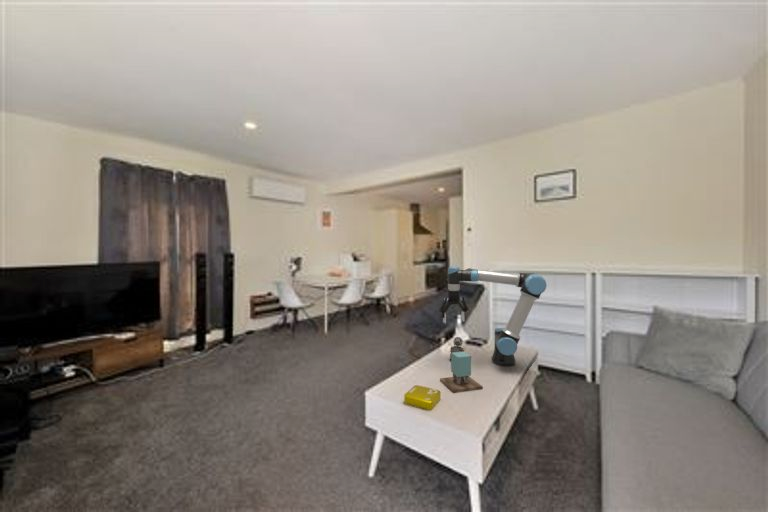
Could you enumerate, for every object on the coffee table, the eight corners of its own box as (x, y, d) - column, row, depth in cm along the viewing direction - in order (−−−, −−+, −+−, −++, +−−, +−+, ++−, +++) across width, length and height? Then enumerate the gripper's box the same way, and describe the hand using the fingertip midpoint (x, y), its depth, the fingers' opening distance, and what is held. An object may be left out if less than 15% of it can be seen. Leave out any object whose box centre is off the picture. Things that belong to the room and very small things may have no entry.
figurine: (466, 358, 223) (466, 337, 222) (461, 363, 213) (461, 341, 212) (454, 356, 227) (454, 335, 227) (448, 361, 217) (448, 339, 217)
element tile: (415, 392, 172) (415, 383, 172) (441, 398, 165) (441, 389, 165) (402, 404, 159) (403, 394, 159) (431, 411, 152) (431, 402, 152)
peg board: (467, 377, 191) (467, 366, 190) (482, 388, 175) (482, 377, 175) (440, 380, 186) (440, 369, 186) (453, 393, 170) (453, 381, 170)
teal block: (463, 370, 185) (463, 351, 185) (470, 375, 178) (471, 356, 177) (451, 371, 183) (451, 352, 183) (457, 377, 175) (458, 357, 175)
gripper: (467, 288, 217) (467, 319, 218) (434, 290, 210) (434, 321, 211) (473, 290, 210) (473, 321, 210) (439, 291, 203) (439, 324, 204)
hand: (453, 322), depth 211 cm, fingers open, 13 cm apart
